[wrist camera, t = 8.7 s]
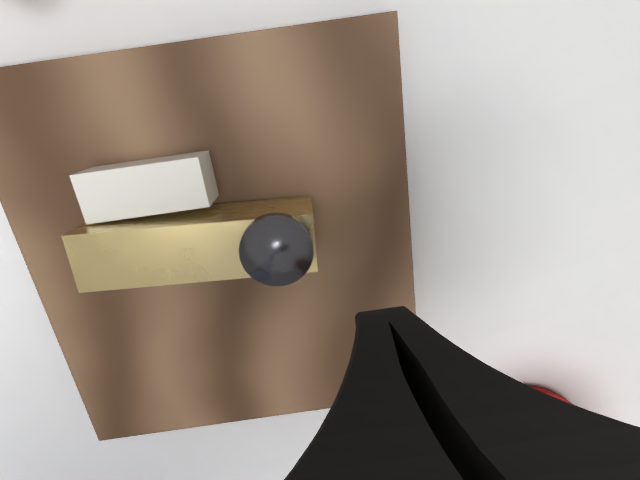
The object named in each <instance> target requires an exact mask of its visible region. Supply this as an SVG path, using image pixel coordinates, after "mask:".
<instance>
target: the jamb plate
mask: <svg viewBox="0 0 640 480" xmlns="http://www.w3.org/2000/svg"><path fill="white" fill-rule="evenodd" d="M207 150H209V153H210V158H211V162H212V167H213V171H214V176H215V180H216V185H217V189H218V194H219V196H218V197H217V198H216V200H215V201H214V202H213V203H212V204H220V203H231V202H243V201H255V200H267V199H278V198H290V197H302V196H311V201H312V209H313V219H314V231H315V243H316V255H317V267H318V272H310V273H306V274H305V275H304V276H303V277H302V278H300V279H299V280H298V281H296V282H294V283H292V284H289V285H285V286H269V285H265V284H262V283H260V282H258V281H256V280H254V279H253V278H242V279H231V280H219V281H208V282H197V283H185V284H174V285H163V286H152V287H140V288H129V289H118V290H106V291H95V292H84V293H79V292H78V289H77V286H76V282H75V279H74V276H73V273H72V269H71V266H70V263H69V260H68V256H67V253H66V250H65V247H64V243H63V240H62V237H61V236H62V235H63V234H65V233H67V232H69V231H70V230H72V229H74V228H75V227H77V226H79V225H80V224H82V223H84V222H85V220H84V217H83V214H82V211H81V208H80V205H79V202H78V199H77V197H76V194H75V191H74V188H73V185H72V182H71V179H70V176H69V175H72V174H75V173H77V172H80V171H83V170H86V169H89V168H91V167H95V166H102V165H109V164H116V163H123V162H130V161H137V160H144V159H151V158H158V157H165V156H172V155H179V154H186V153H193V152H200V151H207ZM0 202H1V204H2V207H3V209H4V212H5V214H6V216H7V219H8V221H9V224H10V226H11V229H12V231H13V233H14V236H15V238H16V241H17V243H18V245H19V248H20V250H21V253H22V255H23V258H24V260H25V262H26V265H27V267H28V270H29V272H30V275H31V277H32V279H33V282H34V284H35V287H36V289H37V291H38V294H39V296H40V299H41V301H42V304H43V306H44V308H45V311H46V313H47V316H48V318H49V320H50V323H51V325H52V328H53V330H54V333H55V335H56V337H57V340H58V342H59V345H60V347H61V349H62V352H63V354H64V357H65V359H66V362H67V364H68V366H69V369H70V371H71V374H72V376H73V378H74V381H75V383H76V386H77V388H78V391H79V393H80V395H81V398H82V400H83V403H84V405H85V408H86V410H87V412H88V415H89V417H90V420H91V422H92V424H93V427H94V429H95V432H96V434H97V437H98V439H99V441H101V440H108V439H115V438H122V437H129V436H136V435H143V434H150V433H157V432H164V431H171V430H178V429H185V428H192V427H199V426H206V425H213V424H220V423H227V422H234V421H241V420H248V419H255V418H262V417H269V416H276V415H283V414H290V413H297V412H304V411H311V410H319V409H326V408H331V407H332V405H333V402H334V400H335V398H336V396H337V394H338V391H339V389H340V386H341V384H342V381H343V379H344V376H345V373H346V370H347V367H348V364H349V360H350V357H351V353H352V348H353V344H354V339H355V332H356V323H355V316H356V314H357V313H358V312H363V311H370V310H377V309H384V308H391V307H398V306H405V307H406V308H407V309H409V310H410V311H411V312H413V313H414V314H415V315H416V312H415V296H414V279H413V263H412V247H411V230H410V214H409V197H408V181H407V165H406V148H405V132H404V115H403V99H402V83H401V66H400V50H399V33H398V17H397V11H392V12H385V13H378V14H371V15H364V16H357V17H350V18H343V19H336V20H329V21H322V22H314V23H307V24H300V25H293V26H286V27H279V28H272V29H265V30H258V31H251V32H244V33H237V34H230V35H223V36H216V37H209V38H202V39H195V40H188V41H181V42H174V43H167V44H160V45H153V46H146V47H139V48H132V49H125V50H118V51H111V52H104V53H97V54H90V55H83V56H76V57H69V58H62V59H55V60H47V61H40V62H33V63H26V64H19V65H12V66H5V67H0Z"/></svg>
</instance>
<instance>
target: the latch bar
mask: <svg viewBox="0 0 640 480" xmlns="http://www.w3.org/2000/svg"><path fill="white" fill-rule="evenodd" d="M61 237H62V240H63V243H64V247H65V250H66V253H67V256H68V260H69V263H70V266H71V269H72V273H73V276H74V279H75V282H76V286H77V289H78V292H79V293H84V292H95V291H106V290H118V289H129V288H140V287H152V286H163V285H174V284H185V283H197V282H208V281H219V280H231V279H242V278H253V279H254V280H256V281H258V282H260V283H262V284H265V285H269V286H285V285H289V284H292V283H294V282H296V281H298V280H299V279H300V278H302V277H303V276H304V275H305V274H306V273H310V272H318V267H317V255H316V243H315V231H314V219H313V209H312V201H311V196H302V197H290V198H278V199H267V200H255V201H243V202H231V203H220V204H212V205H211V206H210V207H206V208H199V209H192V210H185V211H178V212H171V213H164V214H157V215H150V216H143V217H136V218H129V219H122V220H115V221H108V222H101V223H94V224H87V225H86V223H85V222H84V223H82V224H80V225H79V226H77V227H75V228H74V229H72V230H70V231H69V232H67V233H65V234H63V235H62V236H61Z"/></svg>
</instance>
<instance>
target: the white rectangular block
mask: <svg viewBox="0 0 640 480" xmlns="http://www.w3.org/2000/svg"><path fill="white" fill-rule="evenodd" d="M69 176H70V179H71V182H72V185H73V188H74V191H75V194H76V197H77V199H78V202H79V205H80V208H81V211H82V214H83V217H84V220H85V223H86V225H87V224H94V223H101V222H108V221H115V220H122V219H129V218H136V217H143V216H150V215H157V214H164V213H171V212H178V211H185V210H192V209H199V208H206V207H210V206H211V205H212V203H213V202H214V201H215V200H216V198H217V197H218V196H219V194H218V189H217V185H216V180H215V176H214V171H213V167H212V162H211V158H210V153H209V150H207V151H200V152H193V153H186V154H179V155H172V156H165V157H158V158H151V159H144V160H137V161H130V162H123V163H116V164H109V165H102V166H95V167H91V168H89V169H86V170H83V171H80V172H77V173H75V174H72V175H69Z"/></svg>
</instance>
